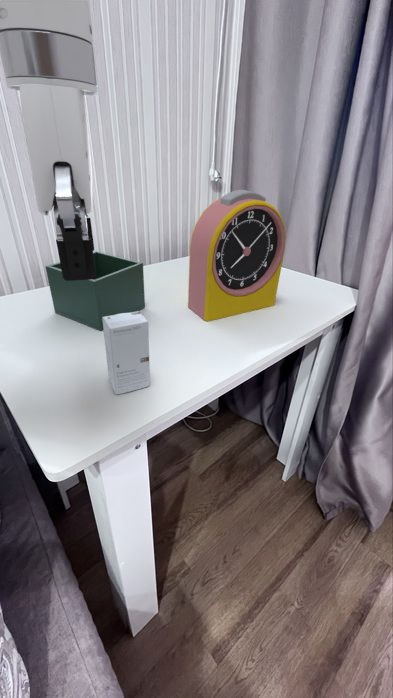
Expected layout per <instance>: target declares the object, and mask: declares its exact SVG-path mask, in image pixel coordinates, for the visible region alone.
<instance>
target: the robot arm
mask: <svg viewBox="0 0 393 698" xmlns="http://www.w3.org/2000/svg"><path fill="white" fill-rule="evenodd" d="M91 19H92V18H91V10H90V1H89V0H0V60H1V65H2V69H3V74H4V78H5V83H6V87H7V88H8V89H10V90H15V91H19V98H20V99H19V100H20V107H21V108H20V109H21V116H22V123H23V129H24V135H25V141H26V147H27V153H28V160H29V164H30V170H31V176H32V182H33V188H34V194H35V199H36V200H35V201H36V206H37V211H38V212H39V213H40V214H41V215H43V216H49V213H50V212H51V211H52V210H53V215H54V225H55V234H56V239H55V244H56V248H57V253H58V258H59V262H60V265H61V270H62V275H63V279H64V280H66V281H73V280H90V279H95V278H96V271H95V263H94V256H93V252H95V242H94V236H93V228H92V219H91V217H89V214H90V213H92V211H93V168H92V167H93V166H92V154H91V153H92V152H91V144H90V143H91V142H90V134H89V133H90V132H89V124H88V116H87V115H88V114H87V106H86V97H92V96H97V95H99V91H98V89H99V88H98V81H97V72H96V61H95V51H94V41H93V28H92V22H91V21H92V20H91Z"/></svg>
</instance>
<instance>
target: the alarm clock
mask: <svg viewBox="0 0 393 698" xmlns="http://www.w3.org/2000/svg"><path fill="white" fill-rule="evenodd" d="M266 200H267V199H266V197H265V196H264V195H262V194H260V193H258V192H254V191H251V190H246V189H236V190H232V191H230V192H228V193H226V194H224V195H222V196H221V197H220V198H218V199H216V200H214V201H213V202H211V203H210V204H209V205H208V206H207V207H206V208H205V209H204V210H203V211H202V212H201V214H200V216H199V217H198V219H197V221H196V222H195V224H194V227H193V229H192V233H191V236H190V244H189V259H188V260H189V261H188V262H189V263H188V293H187V294H188V295H187V297H188V298H187V308H188V309H189V310H190V311H191V312H193V313H194V314H196V316H198V317H199V318H200V319H202V320H203V321H205V322H211V321H215V320H220V319H224V318H229V317H232V316H233V317H234V316H237V315H241V314H244V313H248V312H253V311H258V310H261V309H262V310H263V309H265V308H270V307H273V306H275V303H276V298H277V293H278V288H279V283H280V276H281V271H282V266H283V261H284V255H285V250H286V239H287V234H286V226H285V222H284V220H283V217H282V215H281V213H280V212H279V211H278V210H277V208H276V207H275V206H274V205H272V204H270V203H269V202H267V201H266Z"/></svg>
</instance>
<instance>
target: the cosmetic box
mask: <svg viewBox="0 0 393 698" xmlns="http://www.w3.org/2000/svg"><path fill="white" fill-rule="evenodd" d="M102 321H103V329H104V330H103V339H104V346H105V349H104V350H105V355H106V356H105V357H106V366H107V374H108V382H109V384H110V386H111V388H112V391H113V392H114V394H115V395H121V394H126V393H130V392H133V391H137V390H140V389H144V388H147V387H149V386H151V370H150V337H149V335H150V334H149V333H150V332H149V330H150V329H149V321H148V320H147V318H145V315H143V313H141V312H140V310H139V311H137V312H131V313H121V314H116V315H112V316H105V317H102Z"/></svg>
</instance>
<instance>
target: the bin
mask: <svg viewBox="0 0 393 698" xmlns="http://www.w3.org/2000/svg"><path fill="white" fill-rule="evenodd" d="M93 256H94V263H95V271H96V278H95V279H90V280H73V281H66V280H64V279H63V275H62V270H61V265H60V261H58V262H55V263H52V264H49V265H45V271H46V277H47V282H48V286H49V290H50V295H51V299H52V300H51V301H52V305H53V309H54V313H55V314H57V315H59V316H62V317H64V318H66V319H70V320H72V321H74V322H77V323H80V324H81V325H84V326H87V327H89V328H92V329H94V330H96V331H100V332H102V331H104V329H103V321H102V317H105V316H112V315H116V314H121V313H131V312H137V311H139V312H140V311H142V310H143V309H145V308H146V299H145V296H146V295H145V276H144V262H141V261H137V260H136V261H135V260H133V259H129V258H124V257H121V256H117V255H113V254H110V253H107V252H106V253H105V252H102V251H98V250H94V251H93Z"/></svg>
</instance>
